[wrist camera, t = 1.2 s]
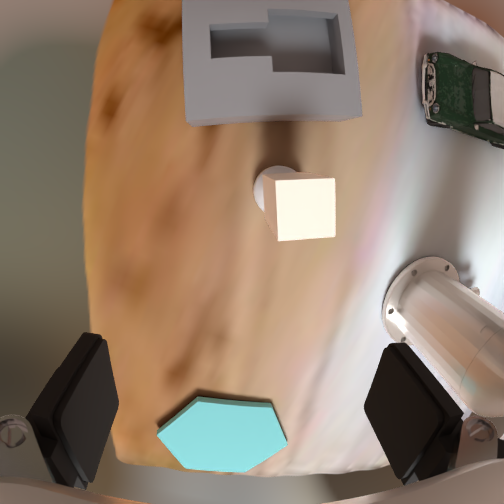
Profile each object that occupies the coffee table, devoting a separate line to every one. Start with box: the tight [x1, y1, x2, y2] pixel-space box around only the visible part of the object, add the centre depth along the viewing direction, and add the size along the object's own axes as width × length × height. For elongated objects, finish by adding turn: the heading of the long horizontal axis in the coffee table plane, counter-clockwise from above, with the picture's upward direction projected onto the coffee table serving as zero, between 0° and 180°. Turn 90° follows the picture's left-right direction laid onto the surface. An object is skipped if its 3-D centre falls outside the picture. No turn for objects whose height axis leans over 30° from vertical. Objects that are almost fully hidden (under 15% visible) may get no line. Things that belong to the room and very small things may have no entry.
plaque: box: [157, 396, 288, 472], centre depth 41 cm, size 18×2×20 cm
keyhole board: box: [182, 0, 362, 127], centre depth 25 cm, size 15×14×6 cm
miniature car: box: [422, 52, 504, 149], centre depth 26 cm, size 9×18×8 cm, turn 87°
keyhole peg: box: [253, 166, 335, 241], centre depth 26 cm, size 5×5×12 cm
